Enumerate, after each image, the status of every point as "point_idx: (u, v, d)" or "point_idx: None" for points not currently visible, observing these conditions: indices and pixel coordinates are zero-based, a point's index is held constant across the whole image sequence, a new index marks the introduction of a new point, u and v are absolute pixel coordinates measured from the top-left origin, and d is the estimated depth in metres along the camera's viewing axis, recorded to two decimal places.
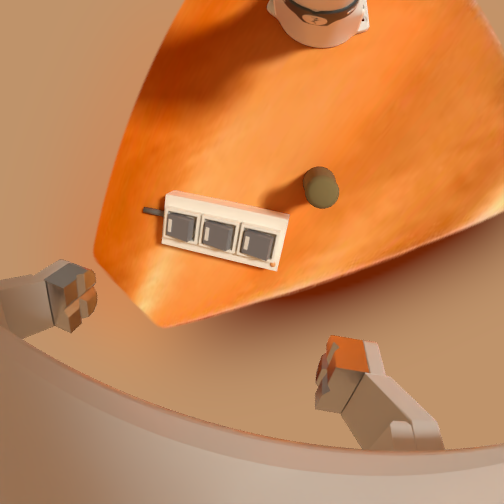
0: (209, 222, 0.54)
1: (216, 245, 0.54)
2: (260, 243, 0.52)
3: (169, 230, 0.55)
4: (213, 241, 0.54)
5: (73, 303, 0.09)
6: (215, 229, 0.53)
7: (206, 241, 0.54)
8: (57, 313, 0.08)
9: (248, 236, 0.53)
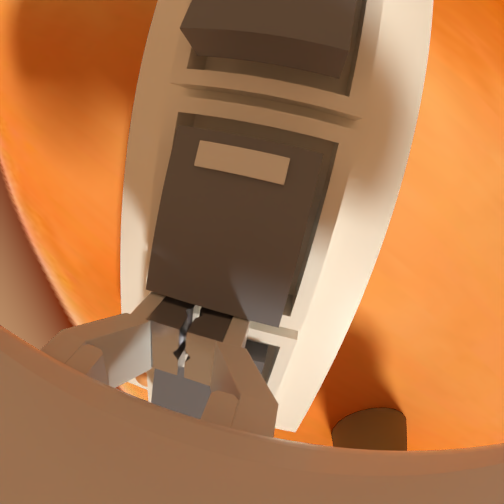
0: None
1: (170, 230, 0.08)
2: None
3: None
4: (193, 209, 0.08)
5: None
6: (276, 231, 0.08)
7: (189, 156, 0.08)
8: (161, 355, 0.08)
9: None
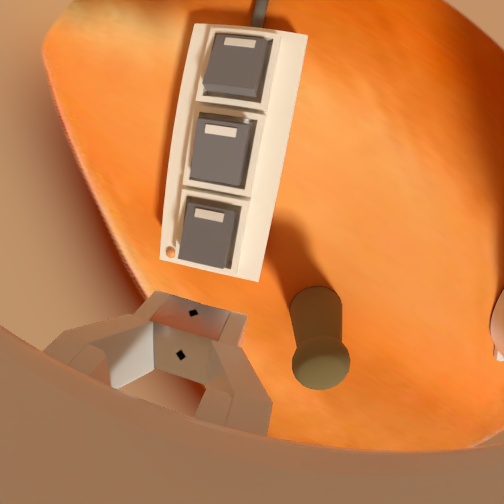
0: (248, 133, 0.22)
1: (198, 155, 0.23)
2: (212, 246, 0.25)
3: (227, 41, 0.19)
4: (205, 147, 0.22)
5: None
6: (234, 152, 0.22)
7: (202, 129, 0.22)
8: (164, 356, 0.08)
9: (223, 219, 0.25)
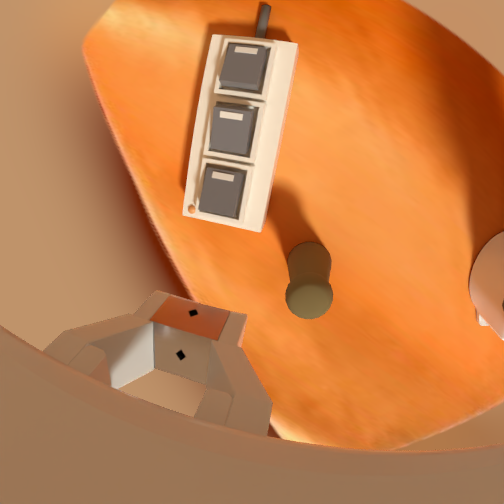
0: (251, 116, 0.29)
1: (215, 132, 0.31)
2: (224, 200, 0.33)
3: (237, 49, 0.27)
4: (221, 127, 0.30)
5: None
6: (241, 131, 0.30)
7: (218, 114, 0.29)
8: (164, 356, 0.08)
9: (233, 179, 0.33)
